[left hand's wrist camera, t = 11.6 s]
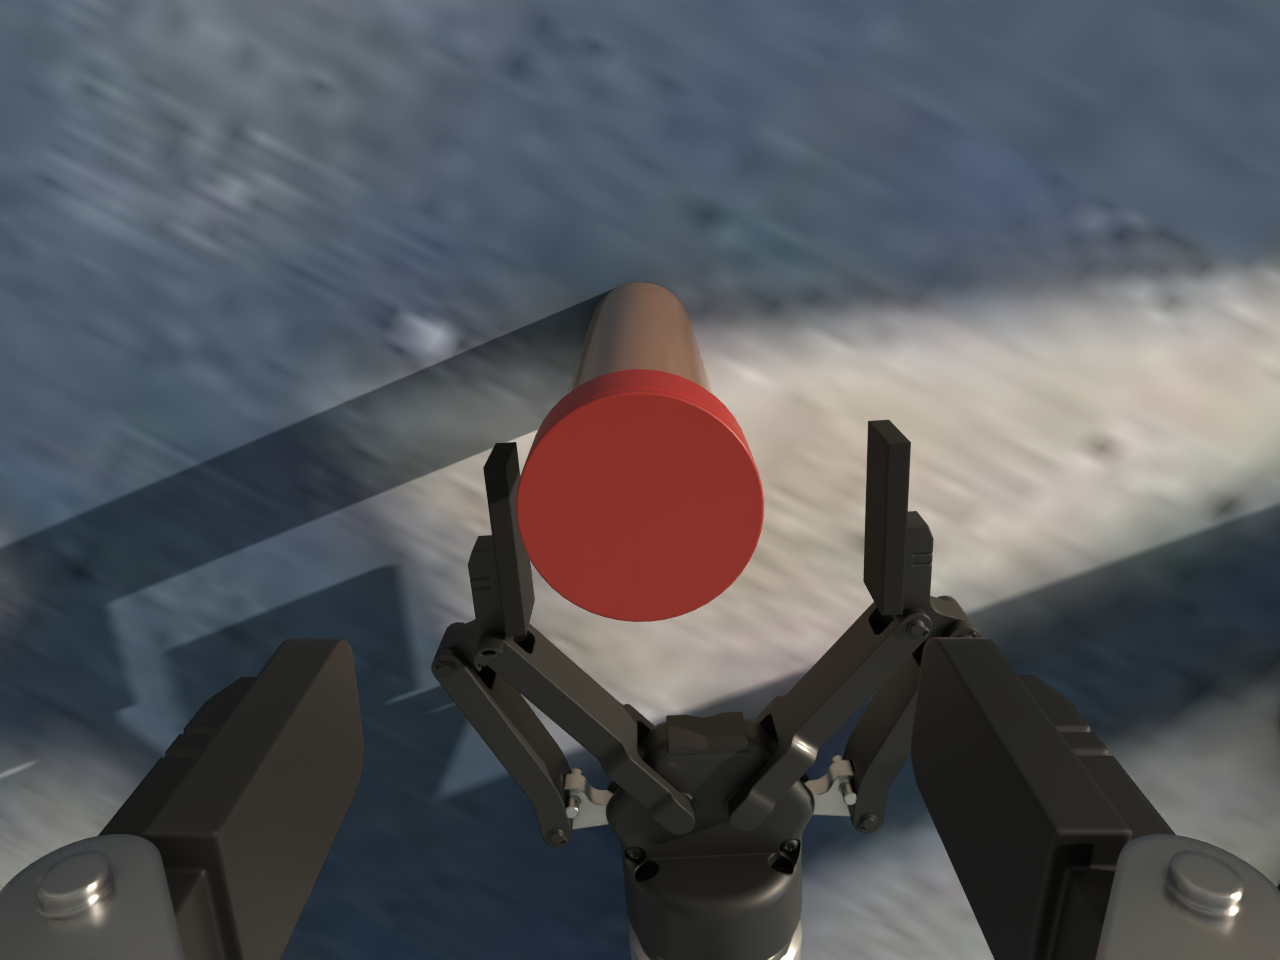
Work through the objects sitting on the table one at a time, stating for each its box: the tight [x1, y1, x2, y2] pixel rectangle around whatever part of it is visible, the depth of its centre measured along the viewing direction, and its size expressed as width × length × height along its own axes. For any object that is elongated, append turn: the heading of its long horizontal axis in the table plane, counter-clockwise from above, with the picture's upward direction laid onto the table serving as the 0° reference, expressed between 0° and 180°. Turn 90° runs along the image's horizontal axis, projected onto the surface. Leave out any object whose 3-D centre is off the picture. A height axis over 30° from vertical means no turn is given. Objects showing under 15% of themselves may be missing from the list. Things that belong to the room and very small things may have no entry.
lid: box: [516, 369, 764, 622], centre depth 18 cm, size 5×5×2 cm
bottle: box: [567, 282, 713, 394], centre depth 27 cm, size 4×4×19 cm
